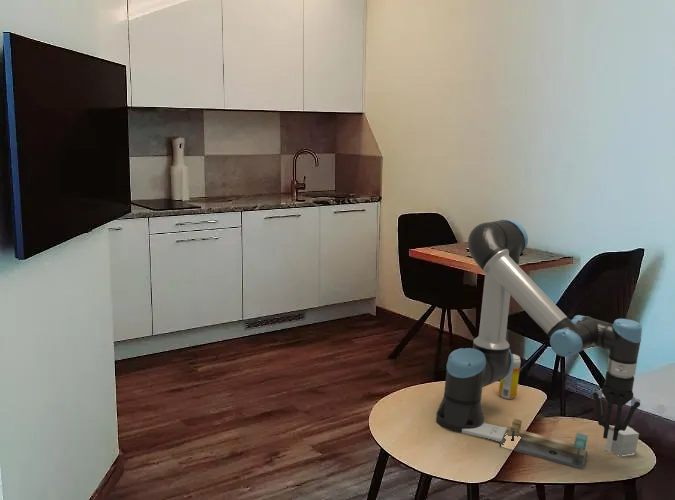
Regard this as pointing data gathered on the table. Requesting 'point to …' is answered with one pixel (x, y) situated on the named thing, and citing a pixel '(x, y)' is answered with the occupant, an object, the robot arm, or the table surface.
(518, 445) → the bolt plate
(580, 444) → the block
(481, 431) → the external hard drive
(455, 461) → the table surface
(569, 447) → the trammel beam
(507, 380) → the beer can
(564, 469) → the table surface
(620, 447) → the product box
